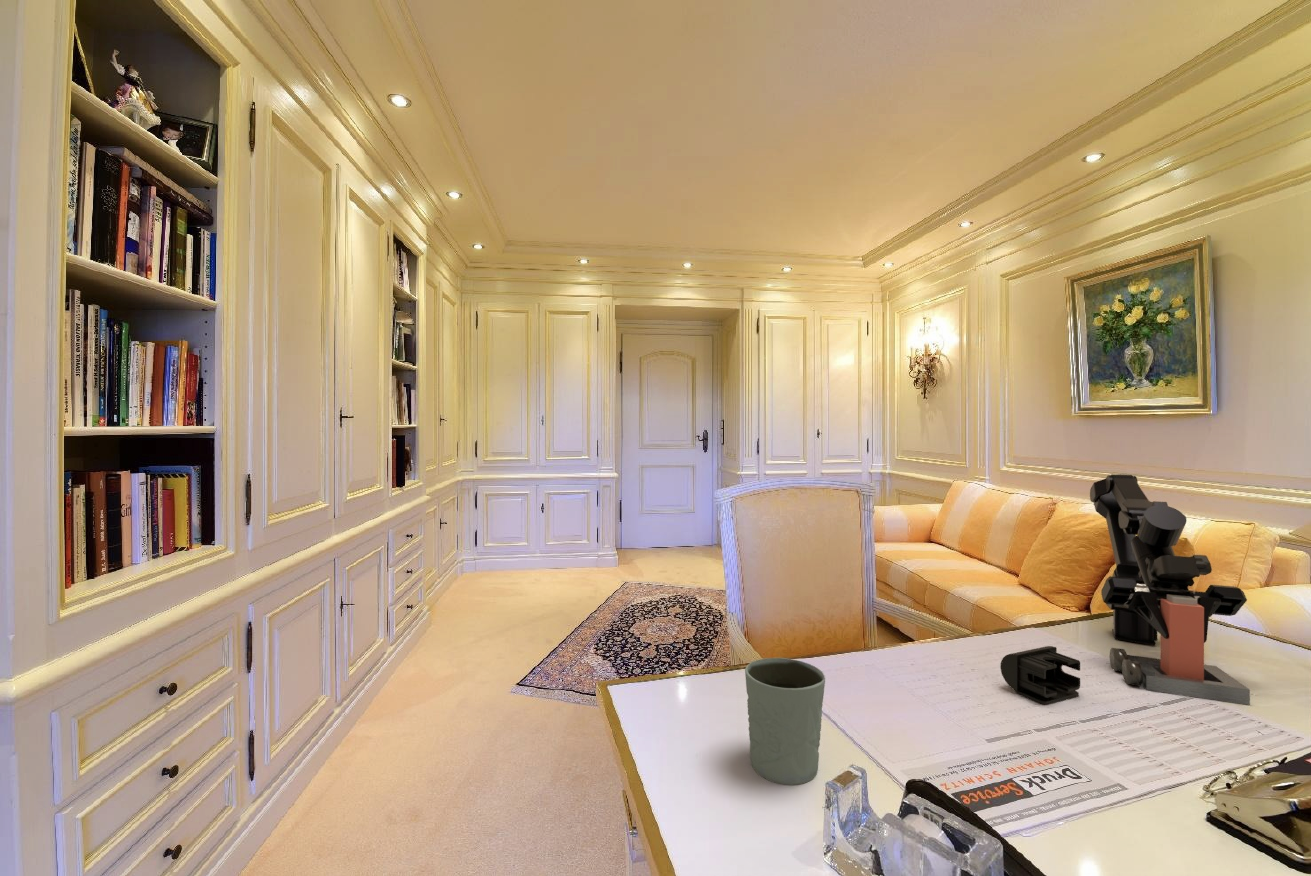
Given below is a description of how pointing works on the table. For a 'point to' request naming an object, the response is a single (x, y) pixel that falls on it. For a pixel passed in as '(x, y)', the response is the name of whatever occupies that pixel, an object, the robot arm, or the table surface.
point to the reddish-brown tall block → (1183, 637)
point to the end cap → (1041, 675)
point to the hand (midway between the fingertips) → (1185, 639)
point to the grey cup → (784, 718)
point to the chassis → (1178, 679)
